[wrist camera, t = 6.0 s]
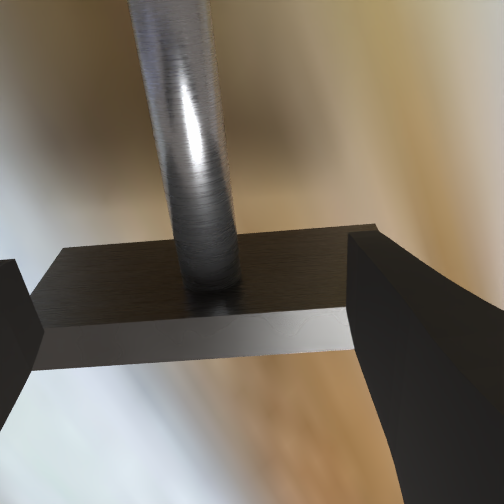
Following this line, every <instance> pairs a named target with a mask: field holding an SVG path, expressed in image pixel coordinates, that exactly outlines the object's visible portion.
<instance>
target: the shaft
mask: <svg viewBox="0 0 504 504" xmlns="http://www.w3.org/2000/svg"><path fill="white" fill-rule="evenodd" d="M127 2H128V7H129V12H130V17H131V22H132V27H133V32H134V37H135V42H136V48H137V53H138V58H139V63H140V68H141V73H142V78H143V83H144V88H145V93H146V98H147V103H148V109H149V114H150V119H151V124H152V129H153V134H154V139H155V144H156V149H157V154H158V159H159V164H160V170H161V175H162V180H163V185H164V190H165V195H166V200H167V205H168V210H169V215H170V220H171V225H172V231H173V236H174V239H172V240H159V241H146V242H133V243H120V244H108V245H95V246H82V247H69V248H63V249H62V250H61V252H60V253H59V255H58V256H57V257H56V259H55V260H54V262H53V263H52V265H51V266H50V268H49V269H48V270H47V272H46V273H45V275H44V276H43V278H42V279H41V280H40V282H39V283H38V285H37V286H36V288H35V289H34V291H33V292H32V293H31V295H30V297H31V300H32V302H33V305H34V307H35V310H36V312H37V314H38V317H39V319H40V322H41V324H42V327H43V329H44V335H43V338H42V342H41V345H40V348H39V351H38V354H37V357H36V360H35V362H34V365H33V368H32V371H37V370H51V369H66V368H81V367H96V366H111V365H126V364H141V363H156V362H171V361H185V360H200V359H215V358H230V357H245V356H260V355H275V354H290V353H305V352H320V351H334V350H349V349H354V345H353V340H352V336H351V332H350V327H349V322H348V317H347V312H346V285H347V240H348V232H359V231H372V230H377V231H379V230H378V229H377V227H376V225H375V224H364V225H352V226H339V227H326V228H313V229H300V230H287V231H275V232H262V233H249V234H237V231H236V222H235V214H234V205H233V197H232V188H231V179H230V171H229V162H228V154H227V145H226V137H225V128H224V119H223V111H222V102H221V94H220V85H219V77H218V68H217V59H216V51H215V42H214V34H213V25H212V17H211V8H210V0H127Z"/></svg>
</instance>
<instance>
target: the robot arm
mask: <svg viewBox="0 0 504 504" xmlns="http://www.w3.org/2000/svg"><path fill="white" fill-rule="evenodd" d="M346 312H347V317H348V322H349V327H350V332H351V336H352V340H353V345H354V349H355V352H356V355H357V358H358V361H359V364H360V366H361V369H362V372H363V375H364V378H365V380H366V383H367V386H368V389H369V392H370V394H371V397H372V400H373V403H374V405H375V408H376V411H377V414H378V417H379V419H380V422H381V425H382V428H383V430H384V433H385V436H386V439H387V442H388V445H389V448H390V451H391V454H392V458H393V461H394V464H395V468H396V472H397V476H398V480H399V484H400V488H401V492H402V496H403V500H404V504H504V311H503V310H501V309H499V308H497V307H496V306H494V305H492V304H490V303H488V302H486V301H484V300H483V299H481V298H479V297H478V296H476V295H474V294H472V293H471V292H469V291H467V290H466V289H464V288H462V287H461V286H459V285H457V284H456V283H454V282H452V281H451V280H449V279H448V278H446V277H444V276H443V275H441V274H440V273H438V272H437V271H435V270H434V269H432V268H431V267H429V266H428V265H426V264H425V263H423V262H422V261H421V260H419V259H418V258H416V257H415V256H413V255H412V254H411V253H409V252H408V251H406V250H405V249H404V248H402V247H401V246H399V245H398V244H397V243H395V242H394V241H392V240H391V239H390V238H388V237H387V236H385V235H384V234H382V233H381V232H379V231H377V230H372V231H359V232H348V240H347V285H346ZM43 335H44V329H43V327H42V324H41V322H40V319H39V317H38V314H37V312H36V310H35V307H34V305H33V302H32V300H31V297H30V295H29V292H28V290H27V288H26V285H25V283H24V280H23V278H22V275H21V273H20V270H19V268H18V265H17V263H16V261H15V259H7V260H0V431H1V429H2V427H3V425H4V424H5V422H6V420H7V418H8V416H9V414H10V412H11V410H12V408H13V406H14V405H15V403H16V401H17V399H18V397H19V395H20V393H21V391H22V389H23V387H24V385H25V383H26V381H27V379H28V377H29V375H30V373H31V371H32V368H33V365H34V362H35V360H36V357H37V354H38V351H39V348H40V345H41V342H42V338H43Z"/></svg>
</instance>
